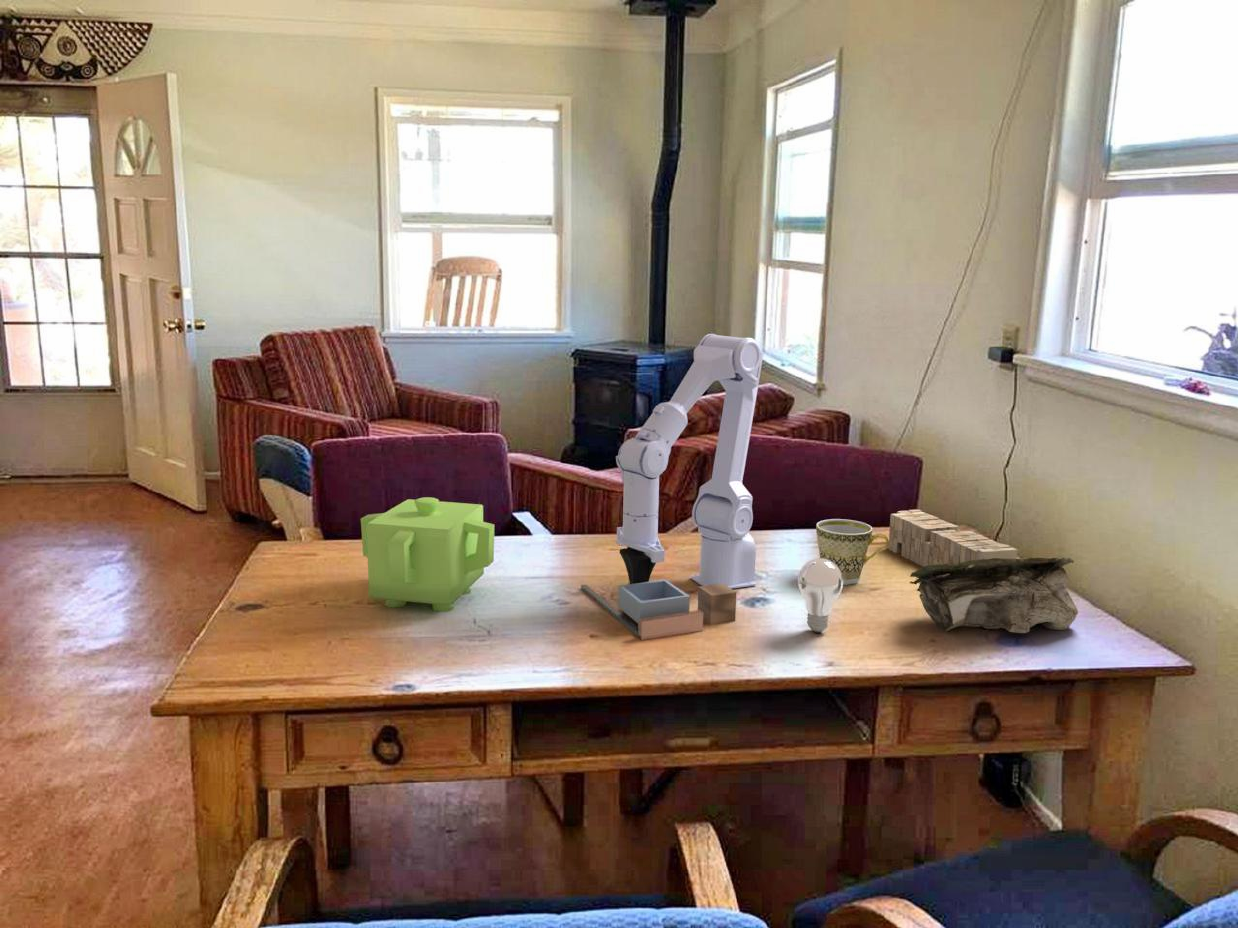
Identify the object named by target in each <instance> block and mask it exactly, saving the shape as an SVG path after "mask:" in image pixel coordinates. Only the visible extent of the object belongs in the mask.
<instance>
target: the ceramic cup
mask: <svg viewBox="0 0 1238 928" xmlns="http://www.w3.org/2000/svg"><path fill="white" fill-rule="evenodd" d="M815 527H816V528H815V529H816V538H817V539H816V541H817V546H818V552H819V558H824V559H828V560H830V561H832V562H833V563H835V564H836V565H837V566H838V568H839V569H840V571H841V573H842V576H843V586H846V585H847V586H848V585H856V584H858V583H859V581H860V579H861V574H862V570H863V567H864V565H866V564H867V562H868V561H869V560H871V559H873V558H874V557H875V556H876V555H878V554H880V553H882V552H883V551H885V550H886V549H888V545H889V537H887V536H886V535H885V534H882V533H876V534H873V530H874V528H873V527H872V526H871V525H870V524H867V523H866V522H863V521H858V520H852V519H845V518H844V519H841V518H831V519H824V520H820V521H818V522H816V525H815ZM879 538H883V539H884V540H885V541H886V545H885V546H883V548H880V549H879V550H876V551H874V553H872V554H871V555H870V556H867V552H868V549H869V546H870V545H871V544H872V543H873V541H875V540H877V539H879Z"/></svg>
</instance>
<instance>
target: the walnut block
mask: <svg viewBox="0 0 1238 928" xmlns="http://www.w3.org/2000/svg"><path fill="white" fill-rule="evenodd" d="M697 588H698V589H697V590H698V591H697V593H698V594H697V610H700V611H702V612H703V621H704V622H706V623H708V624H709V625H710V626H711V625H712V626H713V625H719V624H727V623H731V622H733V623H734V622H736V612H737V611H736V609H737V593H738V592H737V591H736V590H734V589H733V588H732V589H731V588H729V587H728V586H726V585H724V584H723V583H722V584H715V585H707V586H702V585H699V586H698V587H697Z"/></svg>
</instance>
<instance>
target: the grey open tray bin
mask: <svg viewBox="0 0 1238 928" xmlns="http://www.w3.org/2000/svg"><path fill="white" fill-rule="evenodd" d="M690 602H691V596H690V595H689V594H687V593H686V592H685V591H683V590H682V589H681V588H679V587H677V586H676V585H675V584H673V583H672V582H670V581H669V580H667V579H659V580H651V581H650V580H649V582H642V583H635V584H630V583H628V584H621V585H618V586H617V608H618V609H620V611H621V612H620V613H621V614H622V615H623V616H626V615H627V616H628V617H630V618H631V619H632V620H633V621H634V622H636V626H637V627H638V622H639V619H642V618H649V617H656V616H663V615H670V614H677V613H684V612H690V606H691V605H690V604H691V603H690Z"/></svg>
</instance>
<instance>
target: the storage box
mask: <svg viewBox="0 0 1238 928" xmlns="http://www.w3.org/2000/svg"><path fill="white" fill-rule="evenodd" d="M360 527H361V528H360V529H361V542H362V555H363V556H364V557H365V558H367V572H368V576H367V577H368V598H369V599H377V600H378V599H379V600H385V603H384V606H386V607H387V608H399V607H400V608H401V607H404V606H405V605H406V604H407V603H408V602H411V603H419V604H420V603H421V604H431V606H432V610H433V611H434V612H438V613H446V612H450V611H453V610H454V608H455V607H454V604H453V603H454V602H455V601H456V600H458V599H459V598H460V597H461V596H463V595H464V596H465V595H468V594H471V592H472V590H471V586H472V585H473V584H475V582H476V581H478V580H479V579H480V578H481V577H482V576H483V575H484V573H485V570H484V569H485V568H487V567H490V566H491V565H492V563H494V560H495V559H494V557H495V556H494V553H495V524H493V523H490V522H486V521H484V505H483V504H480V503H477V504H475V503H466V502H465V503H464V502H454V501H451V502H450V501H440V500H439V499H438V498H435V497H429V496H427V497H426V496H425V497H420V498H416V499H410V498H409V499H406V500H404V501H402V502H401V503H399V504H397V505H396V506H394V507H391V509H389V510H387V511H386V512H382V513H380V512H379V513H371V514H366V515H365V516H363V517H361V518H360Z"/></svg>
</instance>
